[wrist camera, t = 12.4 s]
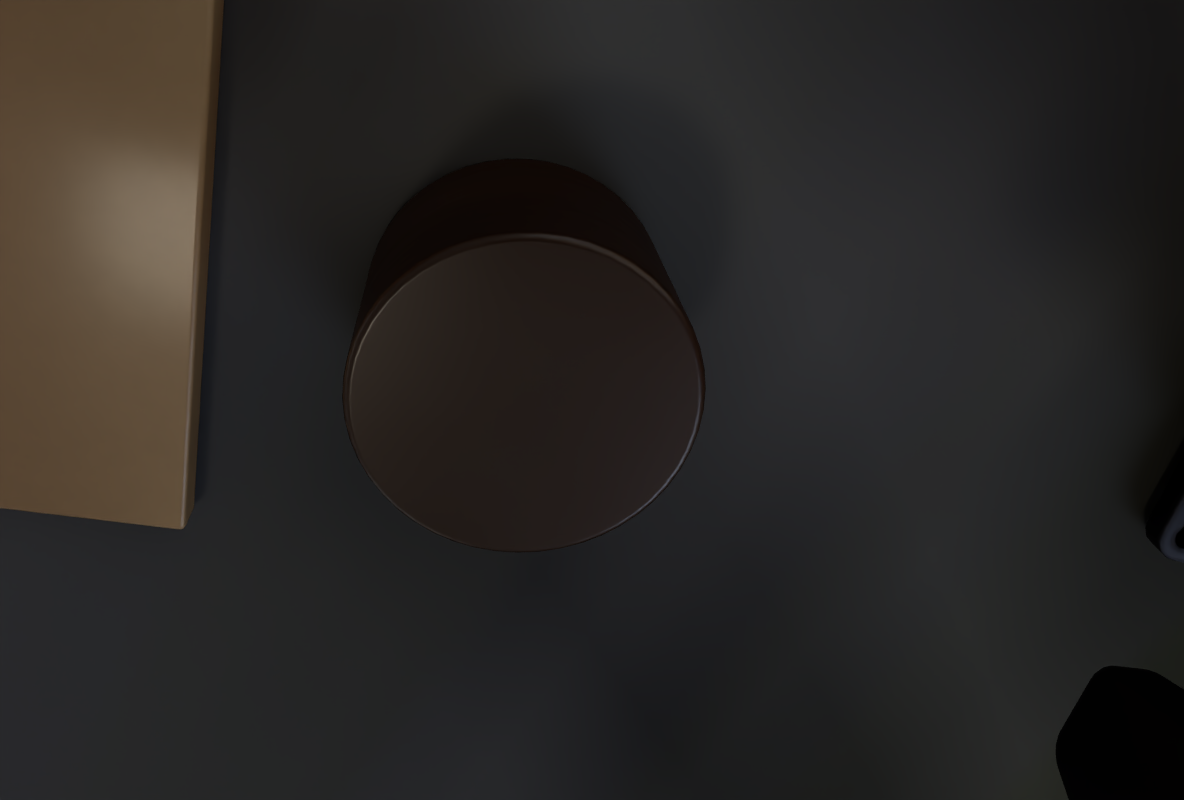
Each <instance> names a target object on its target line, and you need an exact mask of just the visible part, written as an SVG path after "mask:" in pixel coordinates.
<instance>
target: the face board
mask: <svg viewBox="0 0 1184 800" xmlns="http://www.w3.org/2000/svg"><path fill="white" fill-rule="evenodd" d="M223 8H224V0H0V508H4V509H12V510H21V511H29V512H38V513H46V514H54V515H63V516H71V517H80V518H88V519H97V520H105V521H113V522H122V523H130V524H139V525H147V526H155V527H164V528H172V529H183V528H184V527H185V526H186V524H187V521H188V519H189V517H190V515H191V512H192V510H193V508H194V496H195V479H196V462H197V446H198V429H199V412H200V395H201V378H202V362H203V345H204V328H205V311H206V294H207V277H208V261H209V244H210V227H211V210H212V193H213V176H214V160H215V143H216V126H217V109H218V92H219V75H220V59H221V42H222V25H223Z"/></svg>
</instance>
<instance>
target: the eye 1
mask: <svg viewBox="0 0 1184 800" xmlns="http://www.w3.org/2000/svg"><path fill="white" fill-rule="evenodd" d="M705 389H706V388H705V370H704V364H703V359H702V354H701V349H700V346H699V343H698V340H697V338H696V335H695V332H694V329H693V327H692V325H691V323H690V321H689V318H688V316H687V314H686V312H685V310H684V308H683V306H682V304H681V302H680V299H679V297H678V295H677V293H676V291H675V289H674V287H673V285H672V283H671V280H670V278H669V276H668V274H667V272H666V270H665V268H664V266H663V264H662V261H661V259H660V257H659V255H658V253H657V251H656V249H655V247H654V245H653V242H652V241H651V239H650V237H649V235H648V233H647V231H646V229H645V228H644V226H643V224H642V223H641V222H640V220H639V219H638V218H637V216H636V215H635V214H634V212H633V211H632V210H631V209H630V208H629V207H628V206H627V205H626V204H625V203H624V202H623V201H622V200H621V199H620V197H618V196H617V195H616V194H615V193H613V192H612V191H611V190H609V189H608V188H607V187H606V186H604V185H603V184H601V183H599V182H598V181H596V180H594V179H593V178H591V177H589V176H587V175H585V174H583V173H581V172H578V171H576V170H573V169H571V168H569V167H566V166H562V165H558V164H554V163H551V162H546V161H539V160H531V159H502V160H494V161H486V162H482V163H478V164H474V165H471V166H467V167H464V168H462V169H459V170H457V171H454V172H452V173H449V174H447V175H445V176H443V177H442V178H440V179H438V180H436V181H435V182H433V183H431V184H429V185H428V186H427V187H425V188H424V189H423V190H421V191H420V192H419V193H418V194H416V195H415V196H414V197H412V199H411V200H410V201H409V202H408V203H407V204H406V205H405V206H404V207H403V208H402V209H401V210H400V211H399V212H398V213H397V215H396V216H395V217H394V219H393V220H392V221H391V223H390V224H389V225H388V227H387V228H386V230H385V232H384V234H383V236H382V238H381V240H380V241H379V243H378V246H377V248H376V251H375V254H374V257H373V259H372V262H371V266H370V270H369V274H368V278H367V281H366V285H365V289H364V293H363V297H362V301H361V305H360V309H359V313H358V317H357V321H356V324H355V328H354V332H353V336H352V340H351V344H350V348H349V352H348V356H347V361H346V366H345V371H344V375H343V394H342V399H343V409H344V419H345V423H346V427H347V431H348V435H349V439H350V441H351V444H352V446H353V448H354V451H355V453H356V456H357V458H358V460H359V461H360V463H361V465H362V466H363V468H364V470H365V472H366V473H367V475H368V477H369V478H370V479H371V480H372V482H373V483H374V484H375V485H376V487H377V488H378V489H379V490H380V492H381V493H382V494H383V495H384V496H385V497H386V498H387V499H388V500H389V501H390V502H391V503H392V504H393V505H394V506H395V507H396V508H397V509H398V510H400V511H401V512H402V513H404V514H405V515H406V516H408V517H409V518H410V519H412V520H413V521H414V522H416V523H418V524H419V525H421V526H423V527H425V528H426V529H428V530H430V531H432V532H433V533H436V534H438V535H440V536H443V537H445V538H447V539H450V540H452V541H455V542H458V543H462V544H465V545H469V546H472V547H476V548H482V549H488V550H493V551H504V552H539V551H546V550H553V549H559V548H564V547H568V546H571V545H575V544H579V543H582V542H585V541H588V540H590V539H593V538H596V537H598V536H601V535H603V534H605V533H607V532H609V531H611V530H613V529H615V528H617V527H619V526H621V525H622V524H624V523H625V522H627V521H628V520H630V519H631V518H633V517H634V516H636V515H637V514H639V513H640V512H641V511H642V510H644V509H645V508H646V507H647V506H648V505H650V504H651V503H652V502H653V501H654V500H655V499H656V498H657V497H658V496H659V495H660V494H661V493H662V492H663V491H664V490H665V489H666V488H667V486H668V485H669V484H670V483H671V481H672V480H673V479H674V477H675V476H676V474H677V473H678V472H679V470H680V469H681V467H682V465H683V464H684V462H685V460H686V458H687V456H688V454H689V453H690V451H691V449H692V446H693V443H694V441H695V438H696V436H697V433H698V431H699V427H700V423H701V419H702V414H703V410H704V400H705Z"/></svg>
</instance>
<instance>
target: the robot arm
mask: <svg viewBox="0 0 1184 800" xmlns="http://www.w3.org/2000/svg"><path fill="white" fill-rule="evenodd" d="M1182 527H1184V456H1183V458H1182V460H1181V462H1180V463H1179V465H1178V467H1177V469H1176V471H1175V472H1174V474H1173V476H1172V478H1171V479H1170V481H1169V483H1168V485H1167V486H1166V488H1165V490H1164V492H1163V494H1162V495H1161V497H1160V499H1159V501H1158V502H1157V504H1156V506H1155V508H1154V510H1153V511H1152V513H1151V515H1150V517H1149V519H1148V522H1147V525H1146V536H1147V538H1148V539H1149V540H1150V541H1151V542H1152V544H1153V545H1154V546H1155V547H1156V548H1157V549H1158V550H1159V551H1160V552H1161V553H1162V554H1163V555H1164V556H1165V557H1166V558H1169V559H1172V560H1174V561H1179V562H1184V530H1182V531H1180V530H1181V529H1182ZM1179 531H1180V532H1179ZM1056 760H1057V765H1058V769H1059V772H1060V775H1061V778H1062V781H1063V784H1064V787H1065V790H1066V793H1067V796H1068V799H1069V800H1184V690H1183V689H1182V688H1180V687H1179V686H1177V685H1176V684H1174V683H1172V682H1171V681H1169V680H1168V679H1166V678H1165V677H1163V676H1161V675H1160V674H1158V673H1156V672H1153V671H1150V670H1145V669H1138V668H1129V667H1120V666H1108V667H1103V668H1102V669H1101V670H1099V671H1098V672H1096V673H1095V674H1094V675H1093V677H1092V678H1091V679H1090V681H1089V683H1088V685H1087V686H1086V688H1085V690H1084V691H1083V693H1082V695H1081V697H1080V698H1079V700H1078V702H1077V703H1076V705H1075V707H1074V709H1073V710H1072V712H1071V714H1070V715H1069V717H1068V719H1067V721H1066V722H1065V724H1064V726H1063V727H1062V729H1061V731H1060V733H1059V735H1058V739H1057V743H1056Z"/></svg>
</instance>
